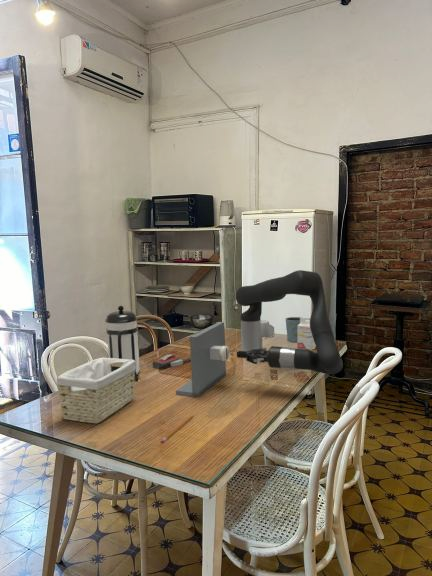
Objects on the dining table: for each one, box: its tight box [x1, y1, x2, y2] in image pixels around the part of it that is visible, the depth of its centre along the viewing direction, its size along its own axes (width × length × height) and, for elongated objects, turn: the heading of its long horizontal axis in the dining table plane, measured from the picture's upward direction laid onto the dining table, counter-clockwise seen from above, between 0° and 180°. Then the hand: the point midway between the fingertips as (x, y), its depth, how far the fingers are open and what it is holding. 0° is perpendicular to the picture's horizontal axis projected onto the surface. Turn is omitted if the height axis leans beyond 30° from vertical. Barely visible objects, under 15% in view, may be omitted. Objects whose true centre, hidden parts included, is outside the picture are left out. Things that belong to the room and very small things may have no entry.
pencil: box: [160, 415, 194, 444], centre depth 128 cm, size 1×1×19 cm
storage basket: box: [56, 357, 136, 424], centre depth 144 cm, size 24×16×15 cm
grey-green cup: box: [285, 316, 303, 344], centre depth 226 cm, size 10×10×12 cm
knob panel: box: [175, 321, 227, 398], centre depth 163 cm, size 13×26×22 cm, turn 157°
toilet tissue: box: [261, 319, 275, 338], centre depth 238 cm, size 9×13×9 cm
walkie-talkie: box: [152, 353, 191, 370], centre depth 193 cm, size 9×4×20 cm
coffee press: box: [104, 305, 141, 382], centre depth 174 cm, size 17×16×30 cm
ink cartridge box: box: [296, 317, 316, 350], centre depth 211 cm, size 9×5×15 cm, turn 65°
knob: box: [220, 345, 230, 362], centre depth 161 cm, size 6×6×6 cm
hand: (237, 354), depth 158 cm, fingers closed
